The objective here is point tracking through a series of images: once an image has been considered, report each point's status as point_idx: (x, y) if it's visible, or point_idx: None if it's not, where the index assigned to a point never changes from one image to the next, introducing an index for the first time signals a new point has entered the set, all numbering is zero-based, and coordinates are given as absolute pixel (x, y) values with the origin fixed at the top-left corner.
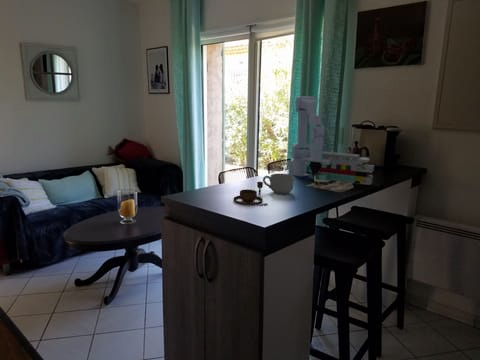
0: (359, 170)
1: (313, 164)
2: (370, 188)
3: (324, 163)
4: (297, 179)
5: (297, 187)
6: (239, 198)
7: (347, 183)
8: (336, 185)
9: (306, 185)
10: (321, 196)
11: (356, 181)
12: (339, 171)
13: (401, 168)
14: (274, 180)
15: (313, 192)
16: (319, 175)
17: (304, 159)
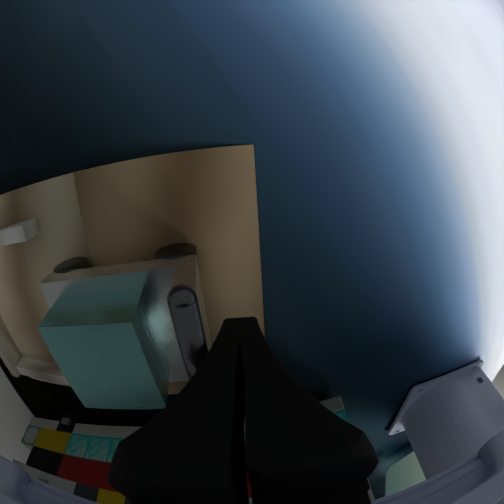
0: (43, 476)
1: (220, 471)
2: (20, 394)
3: (58, 498)
4: (423, 316)
5: (267, 18)
6: None
7: (27, 366)
8: None
9: (253, 163)
10: (4, 8)
11: (67, 430)
12: None
13: None
14: None
15: (64, 12)
16: (122, 318)
17: (498, 470)
